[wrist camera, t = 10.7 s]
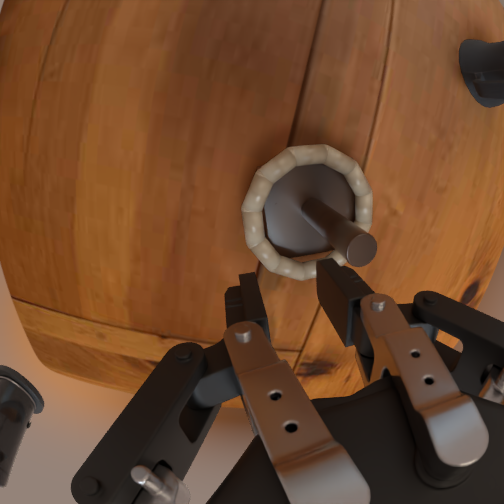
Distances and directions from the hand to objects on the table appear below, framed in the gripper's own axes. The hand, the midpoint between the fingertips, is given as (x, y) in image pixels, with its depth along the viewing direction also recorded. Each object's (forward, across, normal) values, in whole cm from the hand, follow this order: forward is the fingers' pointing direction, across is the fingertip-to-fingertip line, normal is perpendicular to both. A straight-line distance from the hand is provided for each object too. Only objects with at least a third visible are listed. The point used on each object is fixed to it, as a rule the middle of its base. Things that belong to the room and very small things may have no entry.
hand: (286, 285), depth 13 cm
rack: (+12, -5, 0) cm, 13 cm away
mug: (+12, -29, -14) cm, 34 cm away
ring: (+10, -4, 0) cm, 11 cm away
